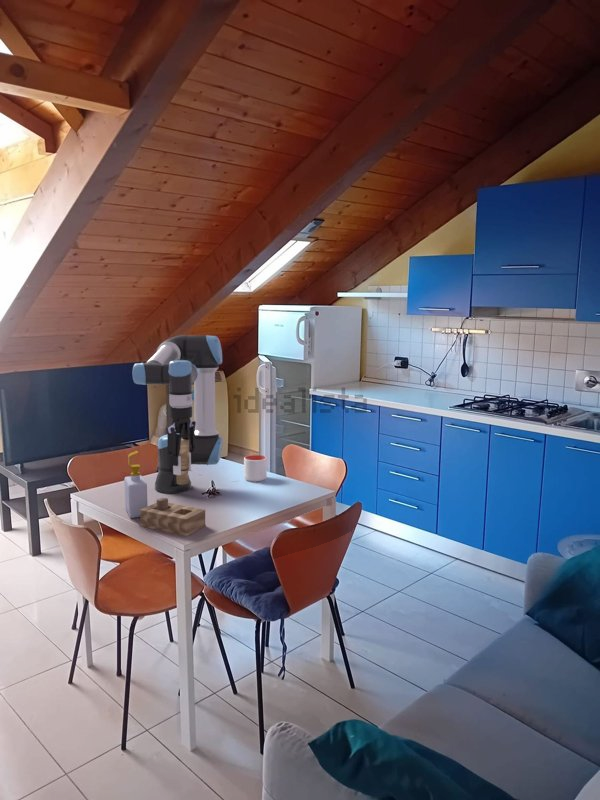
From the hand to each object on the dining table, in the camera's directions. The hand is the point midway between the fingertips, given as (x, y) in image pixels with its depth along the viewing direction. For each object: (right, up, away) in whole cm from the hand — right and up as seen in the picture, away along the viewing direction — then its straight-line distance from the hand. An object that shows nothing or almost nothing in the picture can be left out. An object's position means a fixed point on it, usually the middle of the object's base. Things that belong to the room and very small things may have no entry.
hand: (182, 472), depth 214 cm
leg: (0, -4, +1) cm, 4 cm away
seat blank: (-4, -20, +5) cm, 21 cm away
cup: (+21, -11, +64) cm, 68 cm away
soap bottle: (-21, -18, +19) cm, 33 cm away
